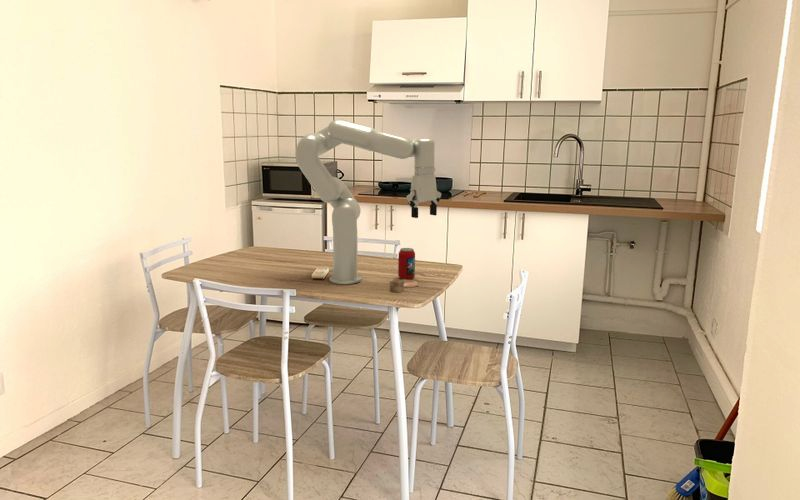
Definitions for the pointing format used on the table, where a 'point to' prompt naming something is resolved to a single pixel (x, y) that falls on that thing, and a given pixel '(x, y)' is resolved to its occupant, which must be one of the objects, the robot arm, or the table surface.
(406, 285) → the coaster
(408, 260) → the beverage can
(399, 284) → the walnut block
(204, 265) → the table surface
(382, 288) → the table surface
